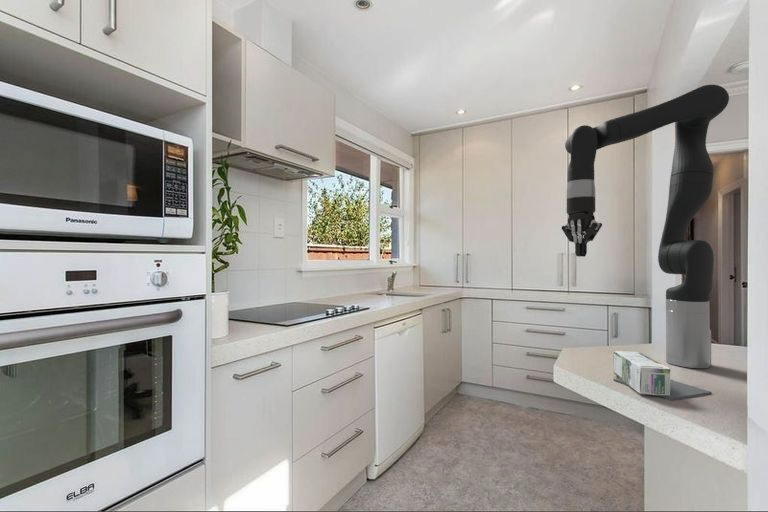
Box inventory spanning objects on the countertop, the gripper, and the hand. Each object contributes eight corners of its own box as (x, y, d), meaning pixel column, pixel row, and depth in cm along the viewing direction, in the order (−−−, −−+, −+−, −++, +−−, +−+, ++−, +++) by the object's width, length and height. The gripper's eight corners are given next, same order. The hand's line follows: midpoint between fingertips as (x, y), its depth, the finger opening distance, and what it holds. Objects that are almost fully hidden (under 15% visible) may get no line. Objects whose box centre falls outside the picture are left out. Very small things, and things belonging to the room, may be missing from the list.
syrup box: (638, 375, 92) (672, 396, 77) (611, 373, 93) (640, 395, 78) (638, 351, 92) (672, 368, 77) (611, 350, 93) (640, 367, 78)
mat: (650, 375, 93) (650, 373, 93) (711, 393, 80) (711, 391, 80) (613, 380, 89) (613, 378, 89) (671, 400, 76) (671, 398, 76)
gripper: (610, 194, 106) (610, 256, 106) (573, 201, 119) (573, 256, 119) (589, 192, 104) (589, 256, 104) (553, 199, 116) (553, 256, 116)
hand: (580, 256), depth 111 cm, fingers closed
